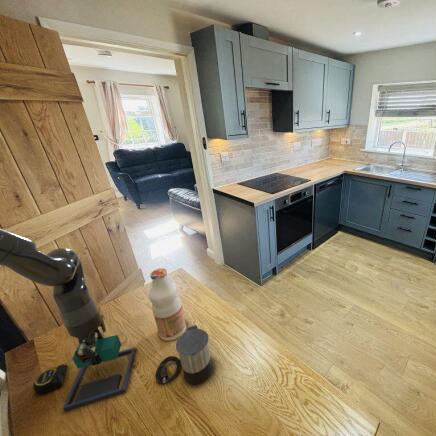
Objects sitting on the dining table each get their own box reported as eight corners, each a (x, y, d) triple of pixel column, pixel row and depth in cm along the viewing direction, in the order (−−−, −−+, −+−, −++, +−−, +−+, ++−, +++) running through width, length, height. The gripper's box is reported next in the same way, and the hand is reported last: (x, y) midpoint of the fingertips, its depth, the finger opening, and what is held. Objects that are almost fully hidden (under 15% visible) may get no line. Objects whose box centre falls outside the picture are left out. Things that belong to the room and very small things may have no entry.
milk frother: (218, 374, 77) (213, 342, 71) (166, 410, 67) (155, 377, 61) (201, 344, 86) (195, 314, 80) (153, 372, 77) (143, 340, 71)
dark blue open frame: (65, 412, 66) (62, 408, 65) (86, 365, 79) (83, 361, 78) (126, 393, 71) (124, 389, 70) (136, 351, 84) (134, 347, 83)
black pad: (76, 405, 67) (74, 402, 67) (83, 388, 72) (81, 384, 71) (117, 392, 71) (116, 389, 70) (121, 376, 75) (120, 373, 74)
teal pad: (77, 368, 70) (72, 358, 68) (84, 354, 74) (79, 344, 73) (117, 358, 73) (112, 347, 72) (121, 344, 78) (117, 334, 76)
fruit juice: (155, 342, 87) (136, 281, 75) (166, 321, 96) (151, 264, 84) (181, 342, 87) (166, 281, 76) (190, 321, 96) (178, 264, 84)
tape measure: (63, 389, 72) (58, 381, 70) (32, 400, 69) (27, 392, 67) (69, 369, 77) (65, 361, 76) (41, 379, 74) (36, 371, 73)
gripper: (75, 300, 72) (94, 340, 79) (51, 339, 60) (75, 382, 66) (105, 295, 74) (120, 333, 81) (87, 331, 62) (107, 373, 69)
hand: (100, 355), depth 74 cm, fingers closed on teal pad, 5 cm apart
